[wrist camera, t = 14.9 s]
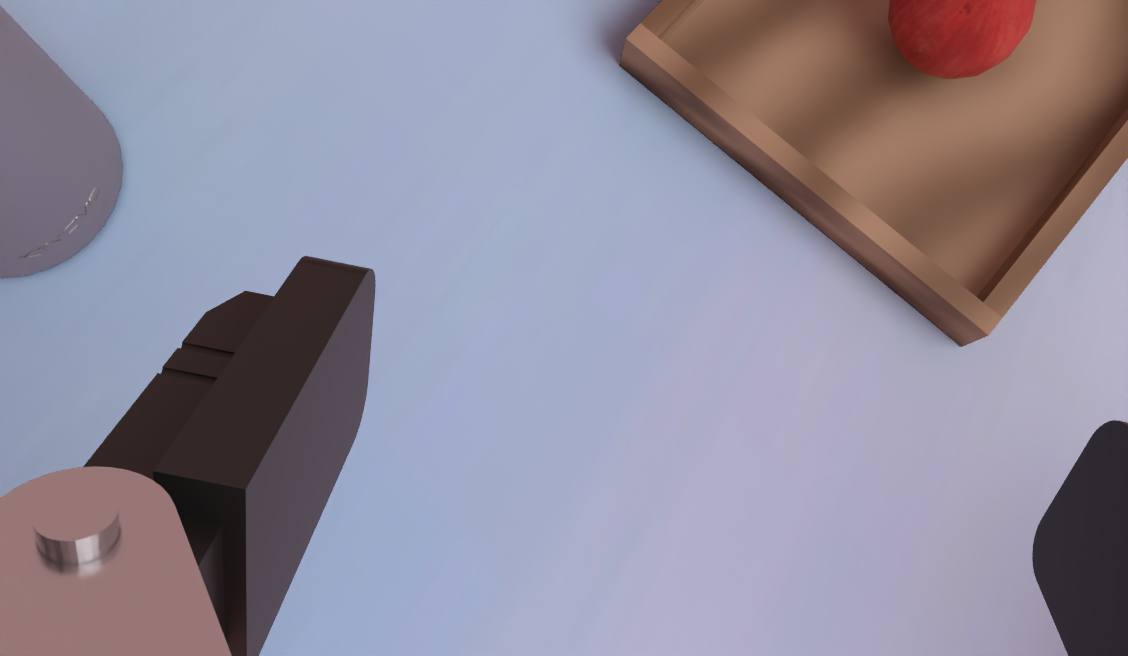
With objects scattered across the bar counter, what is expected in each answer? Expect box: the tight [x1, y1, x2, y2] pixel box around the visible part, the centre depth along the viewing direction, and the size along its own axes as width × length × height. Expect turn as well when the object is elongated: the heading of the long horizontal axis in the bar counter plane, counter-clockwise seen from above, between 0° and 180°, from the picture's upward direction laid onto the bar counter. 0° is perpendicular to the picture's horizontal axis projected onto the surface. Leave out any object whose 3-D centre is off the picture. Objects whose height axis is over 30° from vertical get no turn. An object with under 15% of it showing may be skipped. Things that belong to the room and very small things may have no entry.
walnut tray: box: [620, 0, 1128, 347], centre depth 45 cm, size 20×20×2 cm
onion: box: [888, 0, 1036, 79], centre depth 41 cm, size 6×6×8 cm
